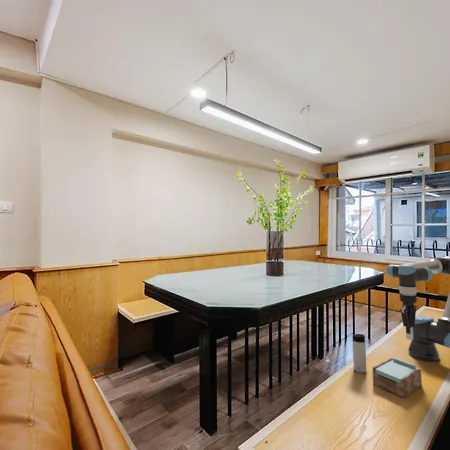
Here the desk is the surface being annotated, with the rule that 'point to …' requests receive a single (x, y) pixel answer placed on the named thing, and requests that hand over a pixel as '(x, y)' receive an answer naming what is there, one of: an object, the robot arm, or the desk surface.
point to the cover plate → (395, 369)
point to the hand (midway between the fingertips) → (409, 339)
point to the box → (401, 390)
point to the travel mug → (359, 353)
